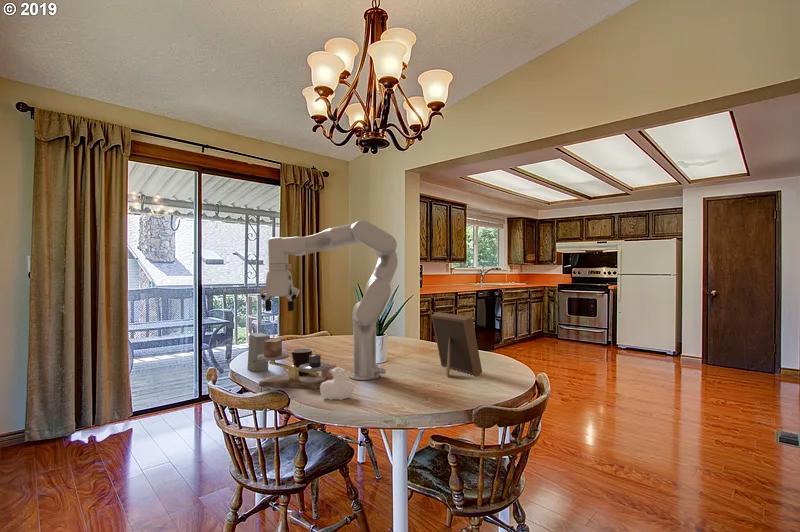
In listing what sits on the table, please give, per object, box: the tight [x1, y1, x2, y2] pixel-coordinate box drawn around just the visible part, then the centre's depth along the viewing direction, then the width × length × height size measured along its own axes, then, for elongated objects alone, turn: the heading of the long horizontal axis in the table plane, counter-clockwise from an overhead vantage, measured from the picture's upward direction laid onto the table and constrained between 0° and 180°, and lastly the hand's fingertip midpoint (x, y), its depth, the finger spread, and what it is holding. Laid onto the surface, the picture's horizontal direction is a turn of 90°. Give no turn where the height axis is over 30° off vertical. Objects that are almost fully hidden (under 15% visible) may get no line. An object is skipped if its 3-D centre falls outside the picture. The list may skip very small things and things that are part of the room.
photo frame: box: [430, 311, 483, 378], centre depth 175 cm, size 15×22×25 cm
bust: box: [319, 366, 355, 401], centre depth 142 cm, size 12×8×11 cm
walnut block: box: [264, 338, 283, 357], centre depth 160 cm, size 5×5×6 cm
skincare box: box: [247, 332, 271, 373], centre depth 180 cm, size 8×7×16 cm
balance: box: [257, 352, 331, 381], centre depth 158 cm, size 30×12×10 cm, turn 77°
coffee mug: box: [291, 347, 313, 377], centre depth 175 cm, size 12×9×10 cm
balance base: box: [258, 374, 327, 390], centre depth 158 cm, size 24×10×2 cm, turn 77°
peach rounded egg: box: [320, 362, 337, 381], centre depth 164 cm, size 6×6×6 cm
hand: (279, 311), depth 161 cm, fingers open, 9 cm apart
